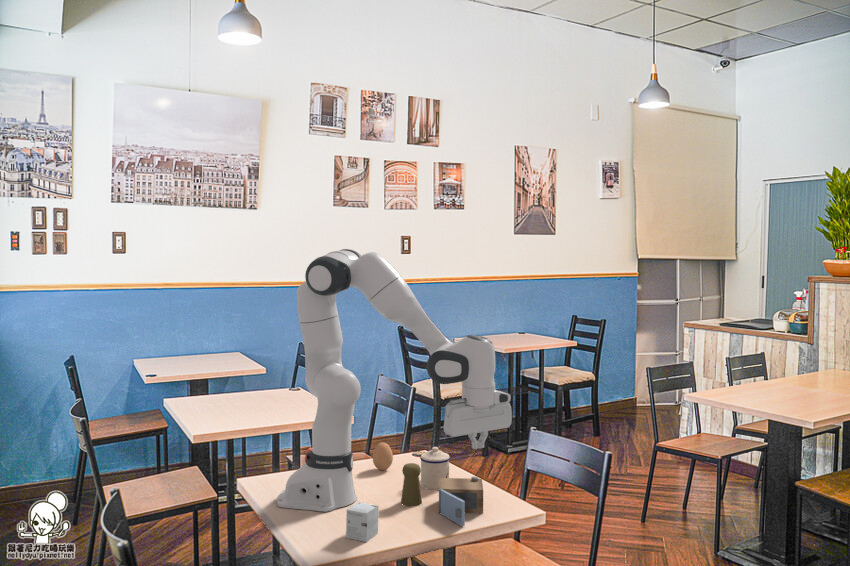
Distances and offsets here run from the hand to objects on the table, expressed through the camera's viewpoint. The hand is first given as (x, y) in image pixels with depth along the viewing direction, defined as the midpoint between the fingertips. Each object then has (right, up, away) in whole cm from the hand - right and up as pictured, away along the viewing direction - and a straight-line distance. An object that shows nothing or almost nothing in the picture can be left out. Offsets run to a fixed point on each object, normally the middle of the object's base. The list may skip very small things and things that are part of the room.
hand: (477, 448), depth 176 cm
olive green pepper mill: (-18, -19, +12) cm, 29 cm away
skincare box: (-30, -20, -10) cm, 37 cm away
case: (-4, -19, +9) cm, 21 cm away
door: (-7, -19, 0) cm, 20 cm away
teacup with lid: (-11, -18, +28) cm, 35 cm away
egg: (-28, -18, +41) cm, 52 cm away
